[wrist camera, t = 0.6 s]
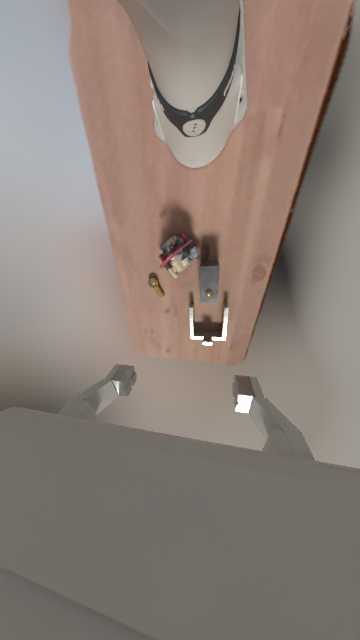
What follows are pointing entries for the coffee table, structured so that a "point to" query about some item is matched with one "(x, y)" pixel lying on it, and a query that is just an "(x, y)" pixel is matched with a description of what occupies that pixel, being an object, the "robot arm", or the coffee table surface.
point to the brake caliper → (178, 254)
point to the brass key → (156, 286)
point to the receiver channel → (208, 335)
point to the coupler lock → (209, 281)
